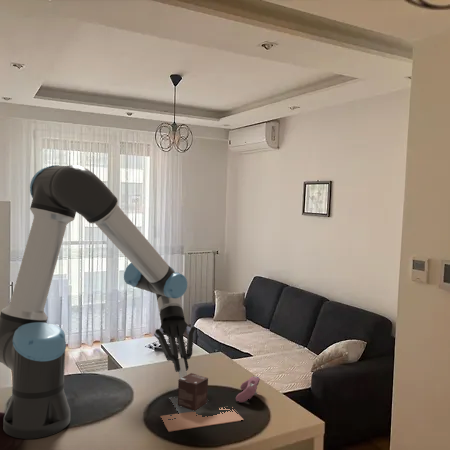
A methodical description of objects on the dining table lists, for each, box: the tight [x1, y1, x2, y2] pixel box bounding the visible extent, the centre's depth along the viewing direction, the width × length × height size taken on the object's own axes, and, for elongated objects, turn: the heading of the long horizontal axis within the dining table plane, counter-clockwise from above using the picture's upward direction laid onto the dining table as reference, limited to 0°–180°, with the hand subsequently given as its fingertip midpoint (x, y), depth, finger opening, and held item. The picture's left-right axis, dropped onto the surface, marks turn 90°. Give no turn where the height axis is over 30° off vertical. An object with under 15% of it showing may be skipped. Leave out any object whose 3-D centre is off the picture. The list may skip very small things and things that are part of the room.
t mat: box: [159, 396, 244, 433], centre depth 125 cm, size 18×20×1 cm
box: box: [177, 372, 209, 411], centre depth 127 cm, size 6×6×7 cm
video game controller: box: [235, 375, 261, 403], centre depth 135 cm, size 10×5×7 cm, turn 169°
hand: (184, 381), depth 135 cm, fingers closed
